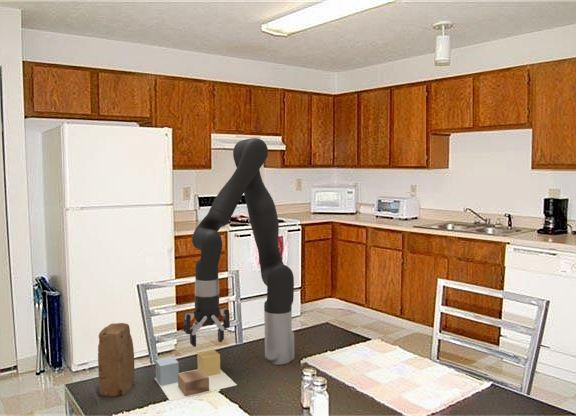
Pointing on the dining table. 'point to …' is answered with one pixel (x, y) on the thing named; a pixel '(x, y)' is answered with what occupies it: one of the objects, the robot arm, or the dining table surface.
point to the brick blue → (167, 370)
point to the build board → (214, 384)
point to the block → (115, 360)
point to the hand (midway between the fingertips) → (207, 343)
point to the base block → (193, 382)
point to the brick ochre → (209, 362)
